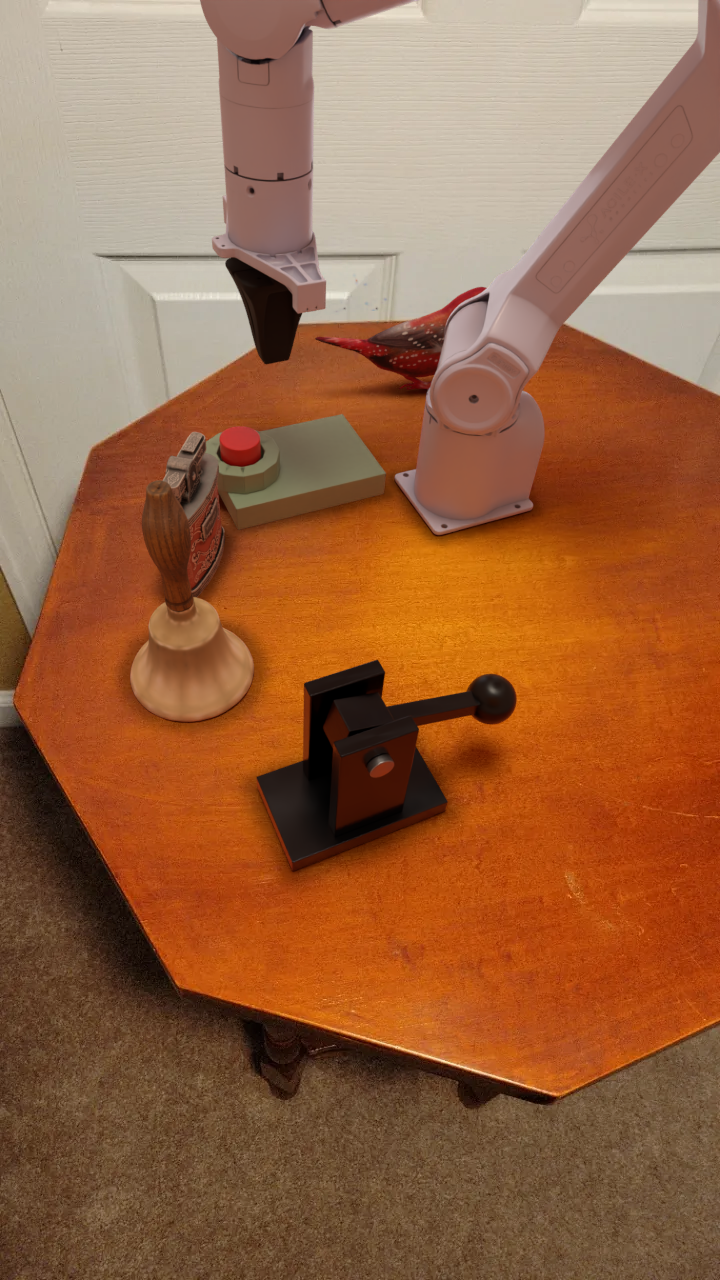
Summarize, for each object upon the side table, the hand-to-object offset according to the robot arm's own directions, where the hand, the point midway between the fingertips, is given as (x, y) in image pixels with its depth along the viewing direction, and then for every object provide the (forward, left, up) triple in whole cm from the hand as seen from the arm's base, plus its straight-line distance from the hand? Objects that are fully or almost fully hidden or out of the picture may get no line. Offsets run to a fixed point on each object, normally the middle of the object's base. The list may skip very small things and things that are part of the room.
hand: (273, 357), depth 62 cm
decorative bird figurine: (-16, -7, -11) cm, 20 cm away
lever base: (+7, +32, -10) cm, 35 cm away
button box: (-1, +2, -10) cm, 11 cm away
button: (+4, +2, -7) cm, 8 cm away
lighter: (+10, +9, -10) cm, 17 cm away
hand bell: (+13, +19, -10) cm, 25 cm away
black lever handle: (+3, +32, -5) cm, 33 cm away
